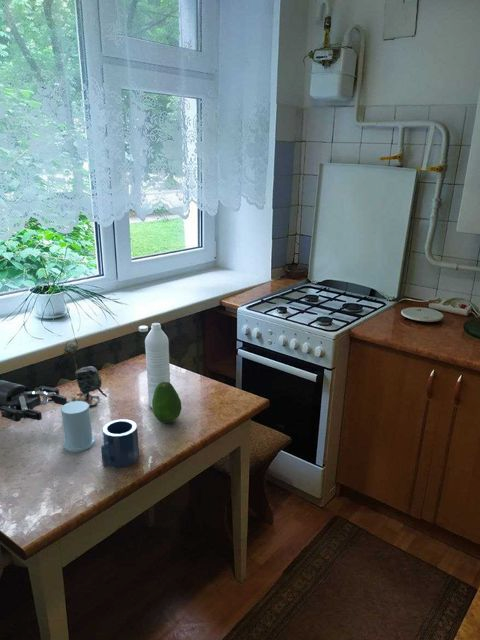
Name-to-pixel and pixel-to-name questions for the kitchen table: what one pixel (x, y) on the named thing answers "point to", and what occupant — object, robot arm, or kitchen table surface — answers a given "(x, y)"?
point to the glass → (77, 426)
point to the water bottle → (156, 358)
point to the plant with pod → (85, 379)
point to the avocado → (166, 403)
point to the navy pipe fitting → (120, 443)
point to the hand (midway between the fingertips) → (53, 408)
